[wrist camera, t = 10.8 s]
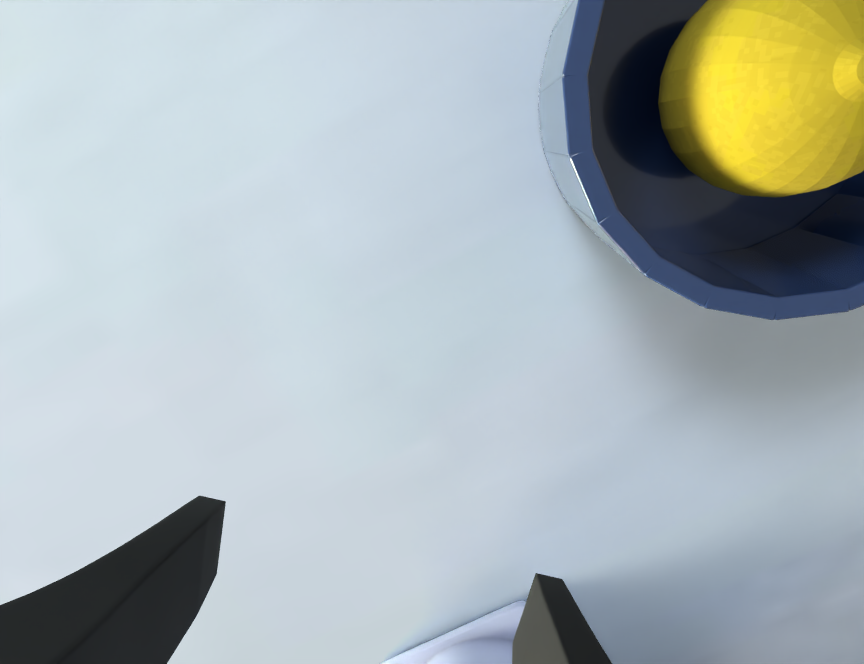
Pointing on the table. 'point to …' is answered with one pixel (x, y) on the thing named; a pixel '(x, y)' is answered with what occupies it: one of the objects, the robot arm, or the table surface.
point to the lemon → (768, 95)
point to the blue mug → (682, 178)
